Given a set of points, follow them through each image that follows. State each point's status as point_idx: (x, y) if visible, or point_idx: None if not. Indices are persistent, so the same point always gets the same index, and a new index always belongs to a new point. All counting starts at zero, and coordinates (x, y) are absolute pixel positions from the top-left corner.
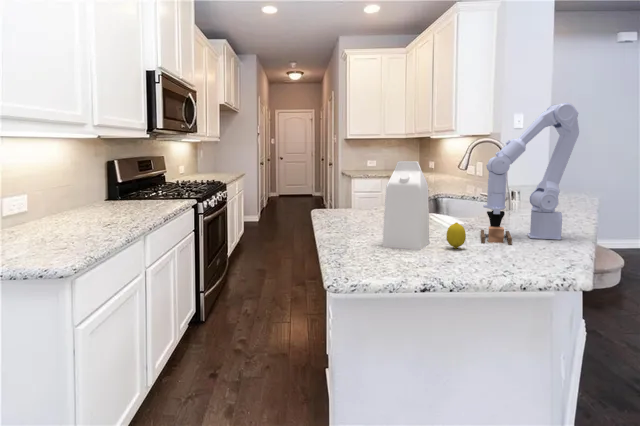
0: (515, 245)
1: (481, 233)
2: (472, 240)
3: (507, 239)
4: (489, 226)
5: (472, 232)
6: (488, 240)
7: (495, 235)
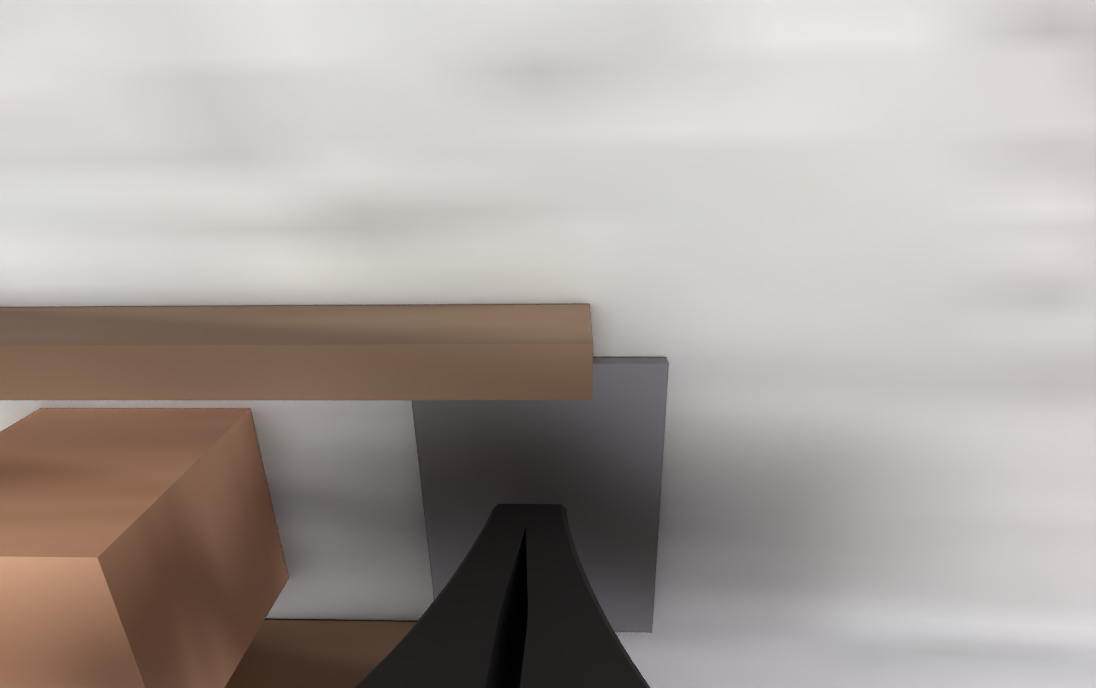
0: None
1: (126, 350)
2: (34, 164)
3: None
4: (92, 570)
5: (915, 152)
6: (87, 415)
7: None
